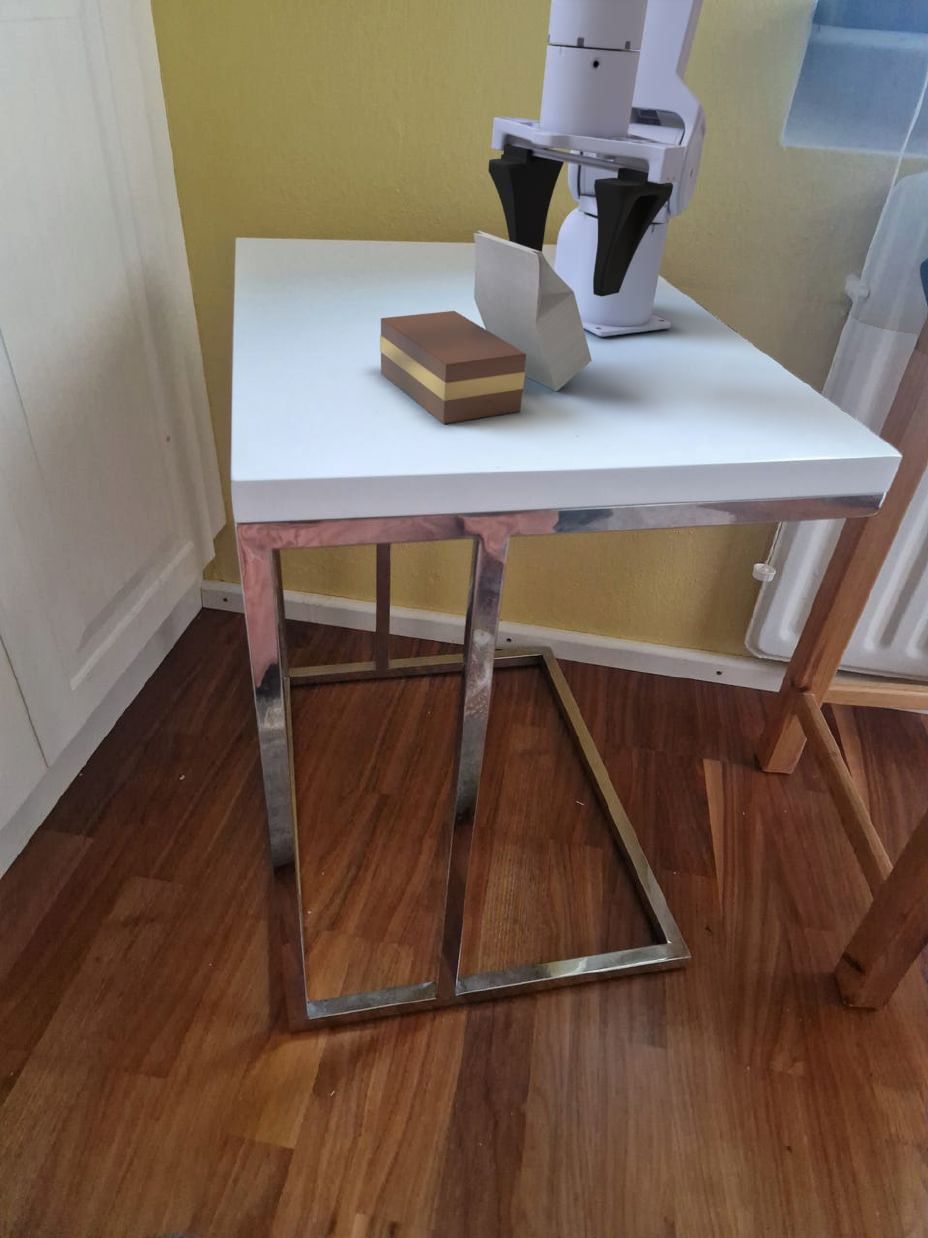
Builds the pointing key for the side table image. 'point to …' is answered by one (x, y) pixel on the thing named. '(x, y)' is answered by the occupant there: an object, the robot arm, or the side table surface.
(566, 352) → the white milk carton
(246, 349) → the side table surface
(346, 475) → the side table surface
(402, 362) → the snack box
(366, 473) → the side table surface
